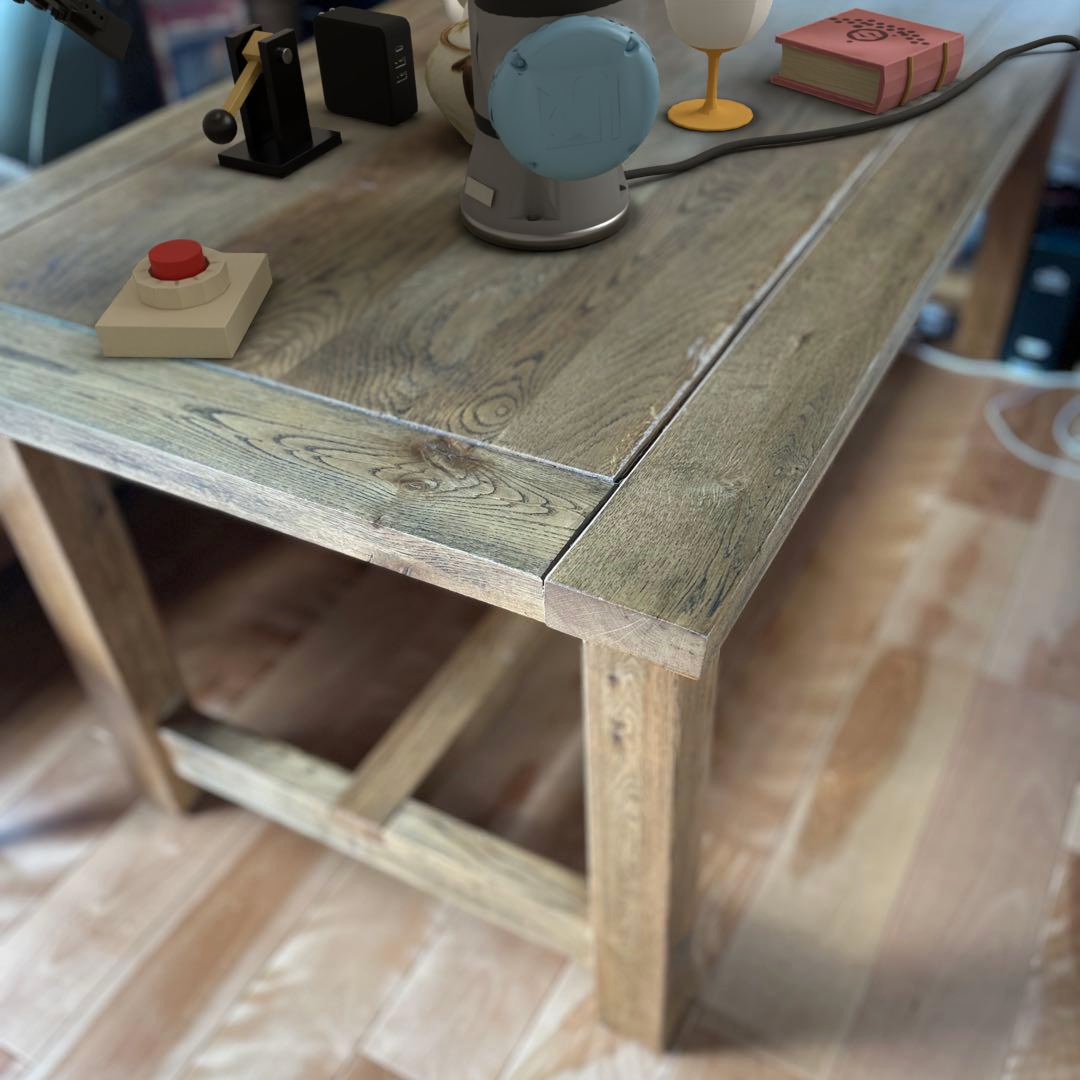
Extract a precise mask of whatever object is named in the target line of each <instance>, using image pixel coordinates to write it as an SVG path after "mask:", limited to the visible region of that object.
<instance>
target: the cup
mask: <svg viewBox="0 0 1080 1080" xmlns="http://www.w3.org/2000/svg"><path fill="white" fill-rule="evenodd" d="M773 2H774V0H664V6H665V9H666V15H667V16H666V17H667V19H668V22H669V24H670V26H671V28H672V30H673V32H674V34H675V36H676V37H677V38H678V39H679V40H680V41H681V42H682V43H684V44H685V45H687V46H689V47H691V48H693V49H695V50H697V51H700V52H703V53H705V54H706V56H707V82H706V83H707V84H706V92H705V98H695V99H690V100H684V101H681V102H679V103H676V104H674V105H672V106H671V108H669V110H668V111H667V118H668V120H669V121H670V122H672V123H673V124H674V125H676V126H678V127H681V128H683V129H687V130H691V131H699V132H725V131H729V130H731V131H732V130H735V129H738V128H741V127H743V126H745V125H748V124H749V123H750V122H751V121H752V119H753V118H754V114H753V112H752V110H751V108H749V107H748V106H746V105H745V104H743V103H740V102H737V101H733V100H730V99H721V98H717V97H718V96H717V95H718V92H717V91H718V74H719V66H720V58H721V56H722V55H723V54H724V53H728V52H730V51H734V50H735V49H738V48H739V47H742V46H744V45H746V44H747V43H749V42H750V41H751V40H752V39H753V38H754V37H755V36H756V35H757V34H758V33H759V31H760V29H762V27H763V25H764V24H765V22H766V21H767V19H768V17H769V13H770V11H771V7H772V5H773Z"/></svg>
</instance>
